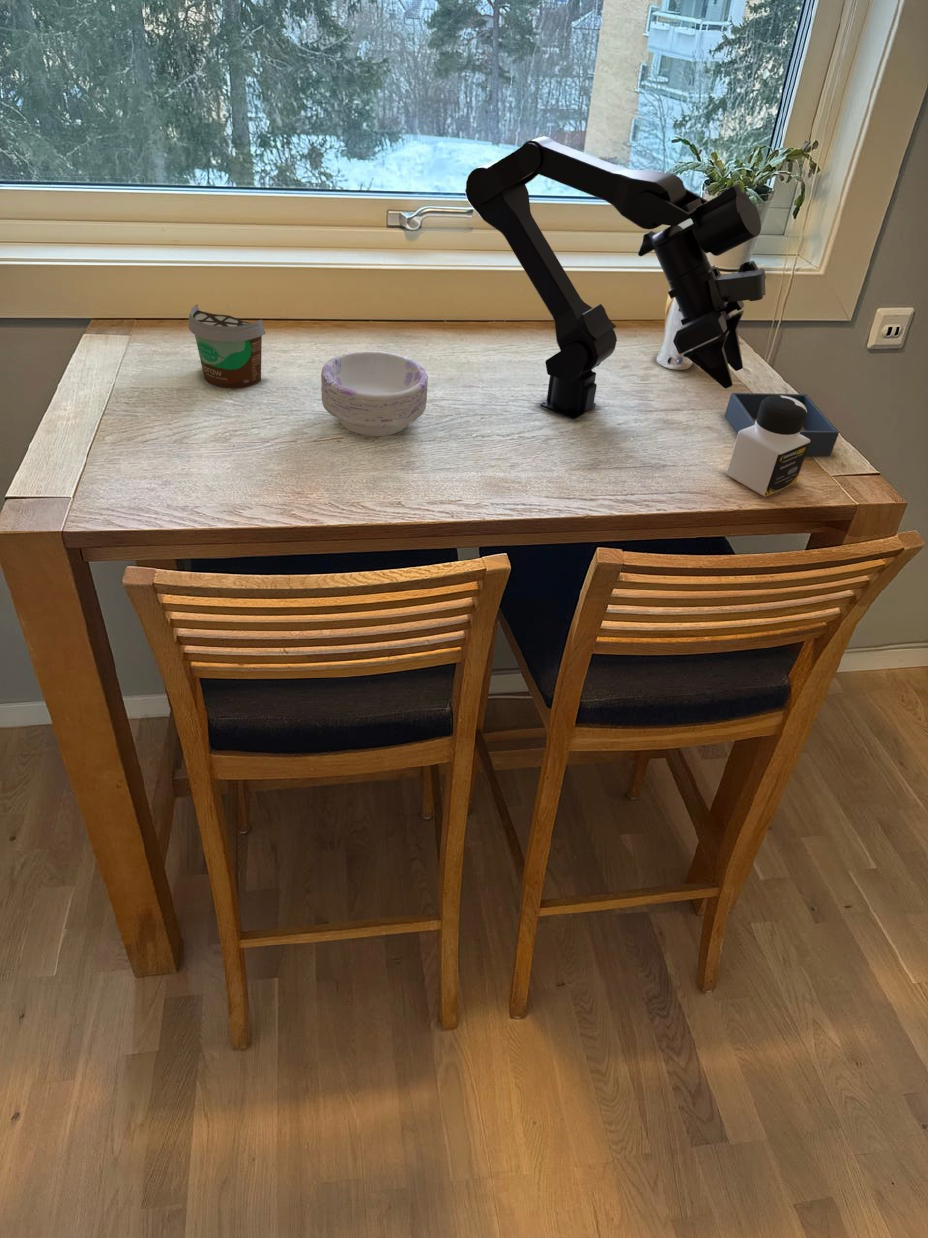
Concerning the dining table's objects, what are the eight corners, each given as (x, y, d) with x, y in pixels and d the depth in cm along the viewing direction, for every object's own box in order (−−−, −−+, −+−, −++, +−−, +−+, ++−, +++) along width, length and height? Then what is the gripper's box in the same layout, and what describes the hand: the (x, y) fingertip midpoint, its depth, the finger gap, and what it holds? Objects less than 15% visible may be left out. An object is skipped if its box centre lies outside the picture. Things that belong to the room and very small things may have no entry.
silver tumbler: (693, 373, 154) (715, 285, 144) (653, 367, 155) (671, 279, 145) (694, 357, 159) (715, 271, 150) (654, 351, 160) (673, 265, 150)
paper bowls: (446, 430, 132) (449, 380, 127) (358, 457, 125) (357, 404, 120) (389, 389, 141) (389, 341, 136) (303, 412, 134) (300, 361, 129)
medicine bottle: (764, 498, 124) (791, 419, 116) (724, 474, 128) (747, 397, 120) (796, 484, 128) (823, 406, 120) (756, 461, 132) (780, 385, 124)
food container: (178, 380, 139) (169, 316, 132) (202, 365, 143) (194, 303, 137) (247, 398, 136) (241, 334, 129) (269, 382, 140) (264, 320, 134)
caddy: (751, 455, 133) (758, 431, 131) (724, 415, 142) (731, 392, 140) (830, 456, 135) (839, 432, 132) (798, 416, 144) (806, 393, 141)
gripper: (735, 251, 108) (784, 370, 112) (756, 231, 123) (799, 336, 127) (651, 295, 114) (700, 406, 118) (681, 270, 129) (724, 370, 133)
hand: (734, 378), depth 124 cm, fingers open, 9 cm apart
